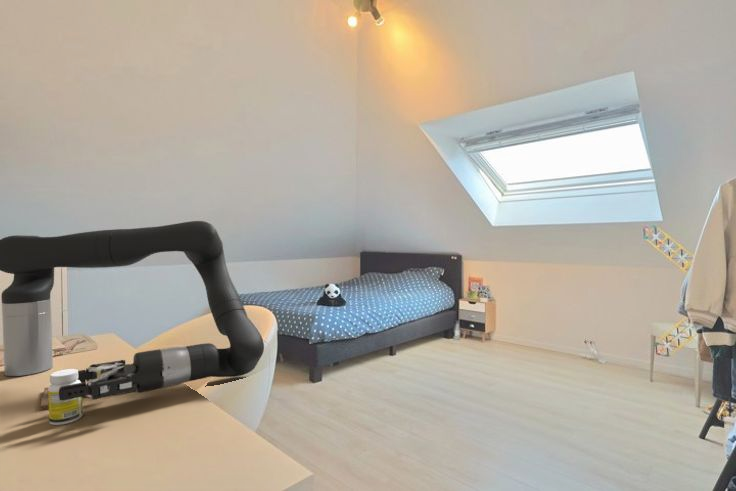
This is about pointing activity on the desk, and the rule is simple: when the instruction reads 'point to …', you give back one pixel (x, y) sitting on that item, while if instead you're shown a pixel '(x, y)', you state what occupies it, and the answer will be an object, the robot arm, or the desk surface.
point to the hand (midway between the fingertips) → (60, 386)
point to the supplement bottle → (63, 409)
